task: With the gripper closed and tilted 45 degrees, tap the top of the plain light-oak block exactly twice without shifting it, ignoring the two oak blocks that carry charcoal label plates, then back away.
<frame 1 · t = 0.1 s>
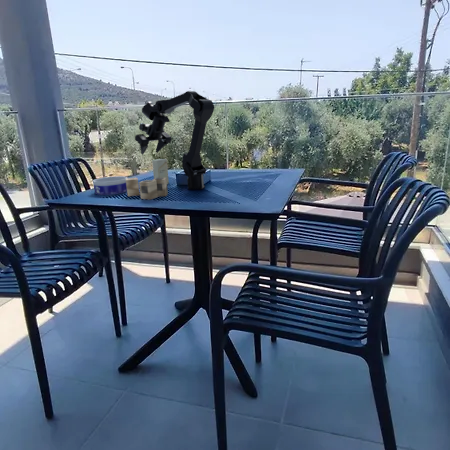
hand: (149, 153, 178), 15 cm above the table, tool tilted 35°, fingers open, 9 cm apart
plain oak block: (133, 194, 156), on the table
dog bowl: (112, 192, 166), on the table
labelled oak block near: (149, 197, 149), on the table, touching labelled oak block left
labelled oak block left: (161, 195, 153), on the table, touching labelled oak block near
skincare box: (161, 184, 178), on the table
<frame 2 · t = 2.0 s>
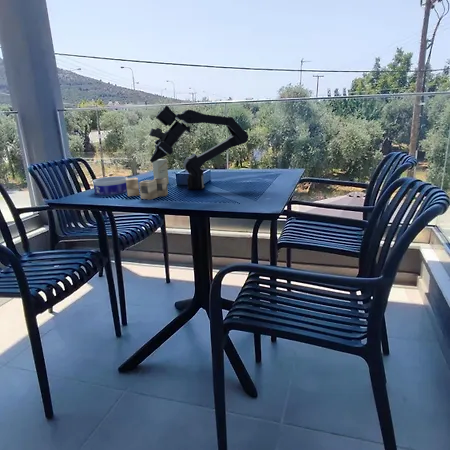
hand: (150, 161, 155), 14 cm above the table, tool tilted 45°, fingers closed
labelled oak block near: (149, 197, 149), on the table
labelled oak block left: (161, 195, 153), on the table
everything else where it was.
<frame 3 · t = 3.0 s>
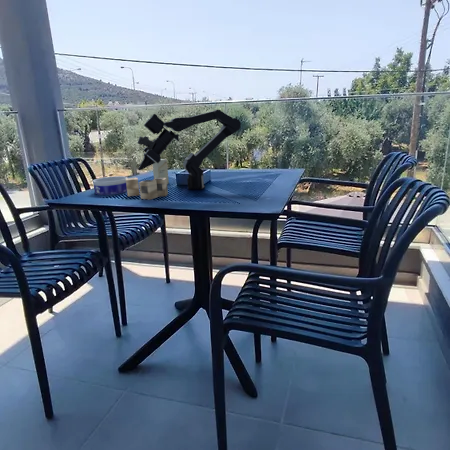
hand: (139, 169, 154), 11 cm above the table, tool tilted 45°, fingers closed
nothing on the table moved.
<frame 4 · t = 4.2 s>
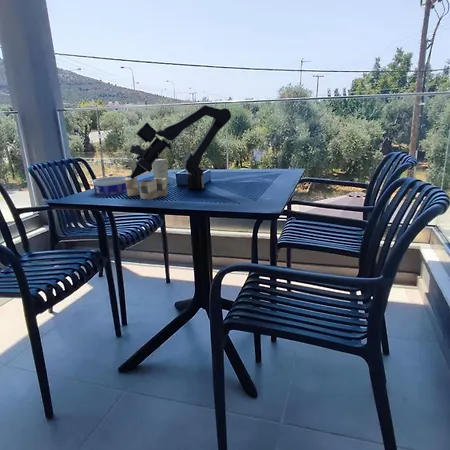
hand: (131, 177, 154), 7 cm above the table, tool tilted 45°, fingers closed, pressing on plain oak block
plain oak block: (133, 194, 156), on the table, touching gripper
everything else where it was.
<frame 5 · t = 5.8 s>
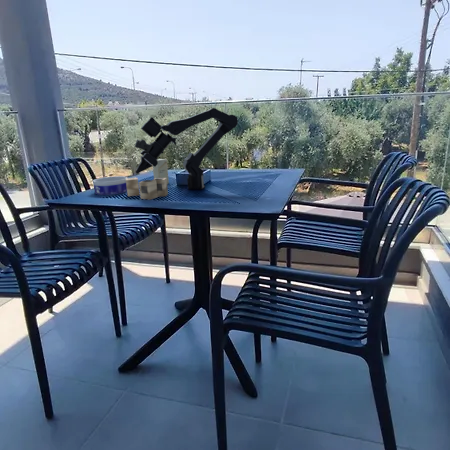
hand: (136, 172, 154), 9 cm above the table, tool tilted 45°, fingers closed
plain oak block: (133, 194, 156), on the table
everything else where it was.
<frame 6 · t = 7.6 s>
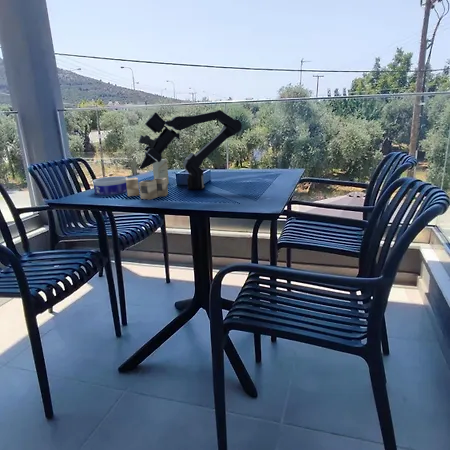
hand: (140, 168, 154), 11 cm above the table, tool tilted 45°, fingers closed
labelled oak block near: (149, 197, 149), on the table, touching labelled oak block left
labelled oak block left: (161, 195, 153), on the table, touching labelled oak block near
everything else where it was.
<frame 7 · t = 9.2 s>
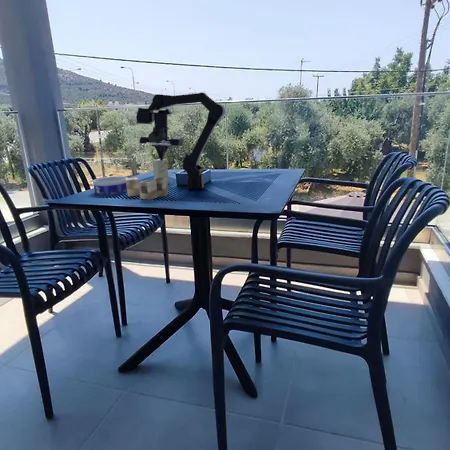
hand: (161, 160, 162), 13 cm above the table, tool pointing down, fingers closed
nothing on the table moved.
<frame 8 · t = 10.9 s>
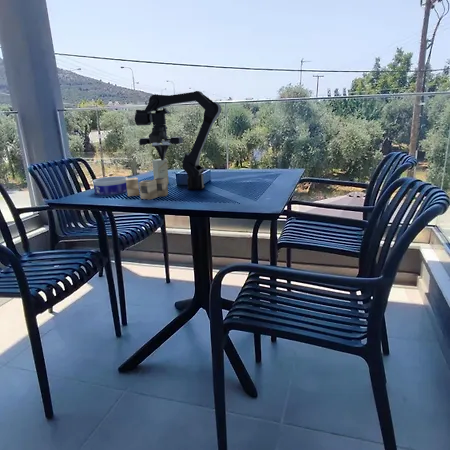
hand: (162, 160, 163), 13 cm above the table, tool pointing down, fingers closed
labelled oak block near: (149, 197, 149), on the table
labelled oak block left: (161, 195, 153), on the table
everything else where it was.
at the end: plain oak block moved 0.1 cm from its start; plain oak block tilted 0°; labelled oak block near moved 0.1 cm from its start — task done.
